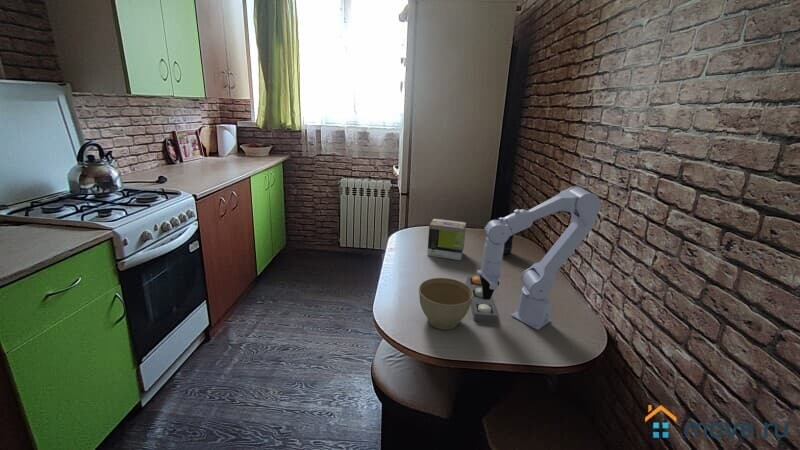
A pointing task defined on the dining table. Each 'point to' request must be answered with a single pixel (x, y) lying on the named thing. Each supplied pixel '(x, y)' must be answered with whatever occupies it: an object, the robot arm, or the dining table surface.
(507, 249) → the storage jar
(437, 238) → the tea box
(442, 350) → the dining table surface
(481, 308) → the cream button
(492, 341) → the dining table surface
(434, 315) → the planter bowl
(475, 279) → the orange button
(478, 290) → the sage button
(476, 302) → the button panel
